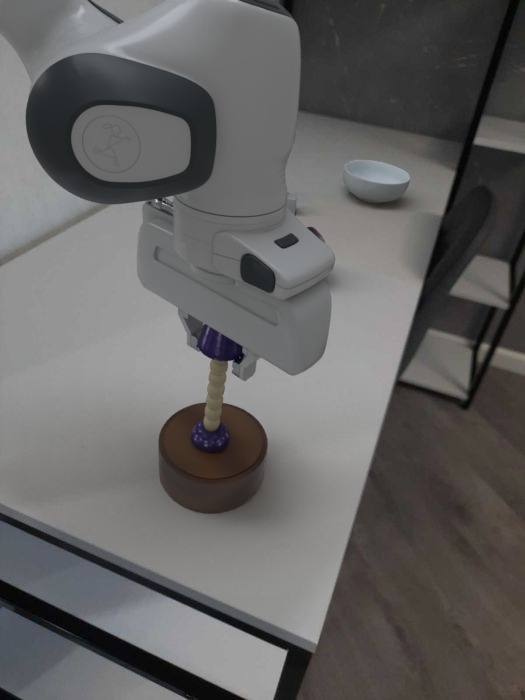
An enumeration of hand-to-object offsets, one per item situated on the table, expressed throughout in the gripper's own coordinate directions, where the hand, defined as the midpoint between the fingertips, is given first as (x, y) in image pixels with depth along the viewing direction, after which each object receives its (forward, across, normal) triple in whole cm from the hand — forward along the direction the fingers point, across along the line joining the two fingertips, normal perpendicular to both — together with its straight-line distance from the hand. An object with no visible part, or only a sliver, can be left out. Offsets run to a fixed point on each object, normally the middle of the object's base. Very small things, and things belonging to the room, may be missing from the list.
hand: (220, 360), depth 50 cm
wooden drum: (+16, 0, 0) cm, 16 cm away
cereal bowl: (+17, -32, +92) cm, 99 cm away
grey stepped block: (+17, -46, +67) cm, 83 cm away
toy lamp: (+11, 0, 0) cm, 11 cm away
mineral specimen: (+17, -20, +44) cm, 51 cm away
